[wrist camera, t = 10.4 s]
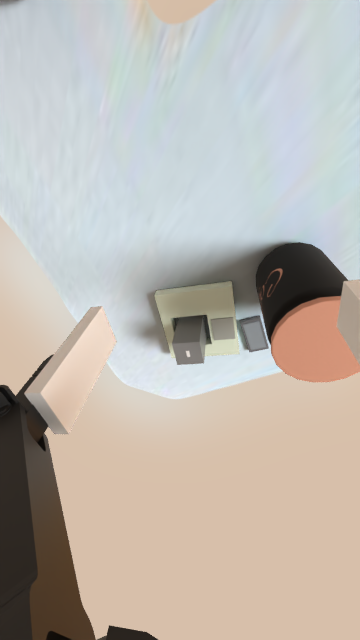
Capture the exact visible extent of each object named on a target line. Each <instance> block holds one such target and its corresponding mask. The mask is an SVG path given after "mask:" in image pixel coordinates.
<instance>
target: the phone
mask: <svg viewBox="0 0 360 640" xmlns="http://www.w3.org/2000/svg"><path fill="white" fill-rule="evenodd" d="M240 324H241V327H242V330H243V333H244V336H245V339H246V343H247V346H248V349H249V352H253V351H258V350H263V349H268V344H267V340H266V337H265V333H264V329H263V326H262V322H261V319H260V316H256V317H252V318H247V319H243V320H240Z"/></svg>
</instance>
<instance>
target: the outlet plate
mask: <svg viewBox="0 0 360 640" xmlns="http://www.w3.org/2000/svg"><path fill="white" fill-rule="evenodd" d="M154 296H155V300H156V304H157V307H158V311H159V314H160V318H161V321H162V325H163V328H164V332H165V335H166V339H167V342H168V346H169V349H170V353H171V356H172V358H176V357H175V354H174V350H173V346H172V341H173V337H174V334H175V330H176V325H175V321H174V318H177V317H187V316H197V315H207V319H208V325H209V330H210V336H211V338H206V346H205V356H215V355H231V354H239V343H238V334H237V324H236V315H235V306H234V296H233V287H232V281H228V282H220V283H212V284H204V285H196V286H187V287H179V288H171V289H163V290H157V291H156V293H155V295H154Z"/></svg>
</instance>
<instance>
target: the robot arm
mask: <svg viewBox="0 0 360 640" xmlns="http://www.w3.org/2000/svg"><path fill="white" fill-rule="evenodd" d="M337 328H338V330H339V331H340V333H341V335H342V336H343V338H344V340H345V341H346V343H347V345H348V346H349V348H350V350H351V351H352V353H353V355H354V356H355V358H356V360H357V361H358V363H359V365H360V280H351V281H344V282H343V288H342V295H341V301H340V308H339V314H338V320H337ZM116 342H117V341H116V339H115V336H114V334H113V331H112V329H111V326H110V324H109V321H108V319H107V317H106V314H105V312H104V309H103V307H102V306H99V307H91V308H90V309H89V310H88V312H87V313H86V314H85V316H84V317H83V318H82V319H81V321H80V322H79V323H78V325H77V326H76V327H75V328H74V330H73V331H72V332H71V334H70V335H69V336H68V337H67V339H66V340H65V341H64V343H63V344H62V345H61V347H60V348H59V349H58V350H57V352H56V353H55V354H54V355H51V356H50V357H48V358H47V359H46V360H45V361H43V363H42V364H41V365H40V366H39V368H38V369H37V371H35V373H34V374H33V375H32V377H31V378H30V379H29V380H28V381H27V383H26V384H25V385H24V386H23V387H22V389H21V390H20V391H19V393H18V394H17V395H16V396H15V395H14V394H13V393H12V391H11V390H10V389H9V387H8V386H6V385H0V640H96V639H95V635H94V631H93V628H92V625H91V622H90V620H89V618H88V616H87V614H86V612H85V610H84V608H83V605H82V602H81V598H80V594H79V589H78V584H77V580H76V574H75V570H74V565H73V560H72V555H71V550H70V546H69V540H68V536H67V531H66V526H65V521H64V516H63V511H62V506H61V502H60V497H59V492H58V487H57V483H56V477H55V473H54V468H53V463H52V458H51V453H50V449H49V444H48V439H47V437H46V435H45V434H44V432H45V431H46V429H47V427H48V426H49V428H50V429H51V430H52V431H53V433H54V434H69V433H70V431H71V429H72V427H73V425H74V423H75V421H76V419H77V417H78V416H79V414H80V412H81V410H82V408H83V406H84V404H85V402H86V400H87V398H88V396H89V394H90V392H91V390H92V388H93V387H94V385H95V383H96V381H97V379H98V377H99V375H100V373H101V371H102V369H103V367H104V366H105V364H106V362H107V360H108V358H109V356H110V354H111V352H112V350H113V348H114V346H115V344H116ZM98 640H158V639H156V638H155V637H153V636H152V635H150V634H149V633H147V632H142V631H137V630H131V629H126V628H120V627H114V626H109V628H108V632H107V636H104V637H102V638H100V639H98Z"/></svg>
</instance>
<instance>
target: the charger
mask: <svg viewBox="0 0 360 640" xmlns="http://www.w3.org/2000/svg"><path fill="white" fill-rule="evenodd" d="M206 335H207V334H206V329H205V323H204V318H203V315H197V316H187V317H179V318H178V322H177V326H176V330H175V334H174V337H173V341H172V346H173V350H174V354H175V357H176V361H177V365H181V364H199V363H204V357H205V346H206Z"/></svg>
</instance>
